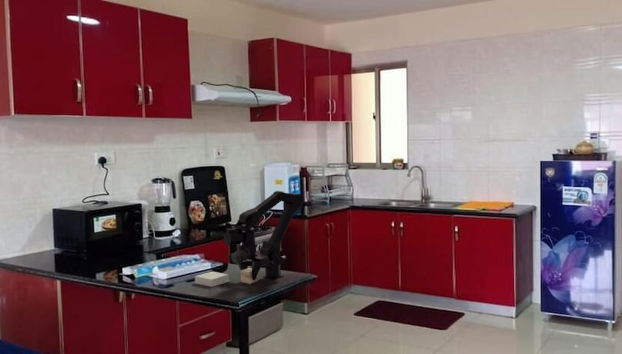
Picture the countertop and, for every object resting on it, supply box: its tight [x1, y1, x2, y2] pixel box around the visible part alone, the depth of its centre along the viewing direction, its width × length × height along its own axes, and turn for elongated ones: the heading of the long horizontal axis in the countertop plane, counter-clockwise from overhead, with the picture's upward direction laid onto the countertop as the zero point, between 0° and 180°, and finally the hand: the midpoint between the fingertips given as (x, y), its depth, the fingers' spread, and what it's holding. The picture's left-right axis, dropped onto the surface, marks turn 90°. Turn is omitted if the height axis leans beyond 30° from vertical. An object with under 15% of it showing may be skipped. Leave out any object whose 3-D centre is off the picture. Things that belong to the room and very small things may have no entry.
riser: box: [194, 271, 230, 288], centre depth 243 cm, size 10×10×3 cm
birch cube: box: [240, 267, 259, 285], centre depth 243 cm, size 5×5×5 cm
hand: (249, 279), depth 244 cm, fingers closed on birch cube, 5 cm apart
